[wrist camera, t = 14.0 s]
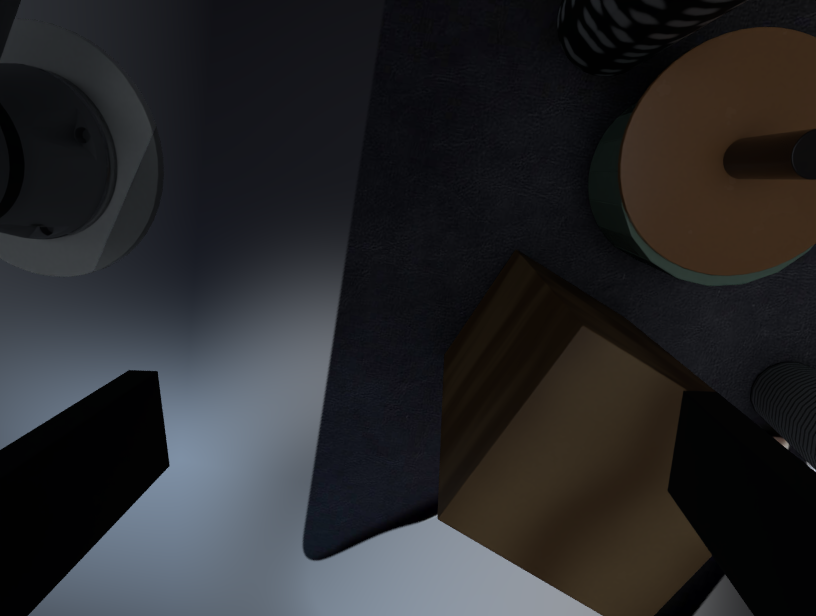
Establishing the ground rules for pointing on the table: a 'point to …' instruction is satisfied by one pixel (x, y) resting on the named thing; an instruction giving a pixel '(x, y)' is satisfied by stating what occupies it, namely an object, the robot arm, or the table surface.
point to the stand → (567, 443)
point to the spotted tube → (629, 29)
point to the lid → (726, 154)
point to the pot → (618, 225)
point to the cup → (789, 405)
